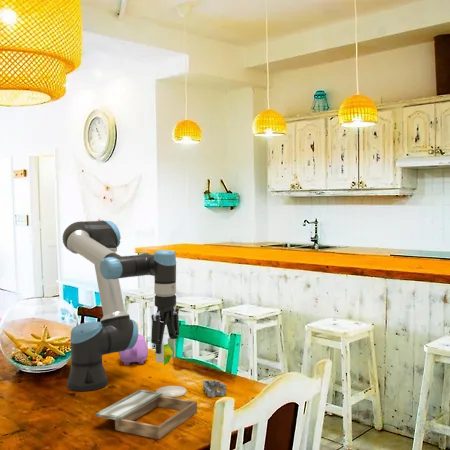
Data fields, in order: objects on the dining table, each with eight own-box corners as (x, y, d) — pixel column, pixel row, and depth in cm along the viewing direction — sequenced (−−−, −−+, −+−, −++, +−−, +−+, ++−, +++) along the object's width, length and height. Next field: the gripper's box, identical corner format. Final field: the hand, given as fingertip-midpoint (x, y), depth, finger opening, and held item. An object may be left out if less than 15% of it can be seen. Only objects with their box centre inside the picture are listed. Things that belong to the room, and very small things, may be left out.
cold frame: (95, 427, 170) (95, 413, 170) (140, 401, 192) (140, 389, 192) (158, 440, 160) (158, 425, 160) (197, 411, 182) (197, 398, 182)
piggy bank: (150, 367, 233) (149, 337, 232) (120, 369, 230) (119, 339, 229) (145, 354, 252) (145, 327, 252) (118, 356, 249) (117, 329, 249)
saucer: (150, 394, 199) (150, 393, 198) (166, 385, 208) (166, 384, 208) (176, 399, 194) (176, 397, 194) (191, 389, 204) (191, 388, 204)
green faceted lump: (159, 338, 196) (170, 343, 188) (171, 347, 198) (182, 353, 191) (147, 355, 193) (158, 361, 186) (159, 364, 196) (171, 371, 189)
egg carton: (227, 397, 196) (227, 385, 196) (206, 399, 195) (206, 387, 194) (221, 387, 207) (221, 376, 206) (201, 389, 205) (201, 378, 205)
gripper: (158, 300, 181) (158, 368, 183) (189, 291, 199) (189, 353, 200) (139, 298, 185) (140, 365, 186) (171, 289, 202) (172, 351, 203)
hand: (165, 359), depth 193 cm, fingers closed on green faceted lump, 6 cm apart
